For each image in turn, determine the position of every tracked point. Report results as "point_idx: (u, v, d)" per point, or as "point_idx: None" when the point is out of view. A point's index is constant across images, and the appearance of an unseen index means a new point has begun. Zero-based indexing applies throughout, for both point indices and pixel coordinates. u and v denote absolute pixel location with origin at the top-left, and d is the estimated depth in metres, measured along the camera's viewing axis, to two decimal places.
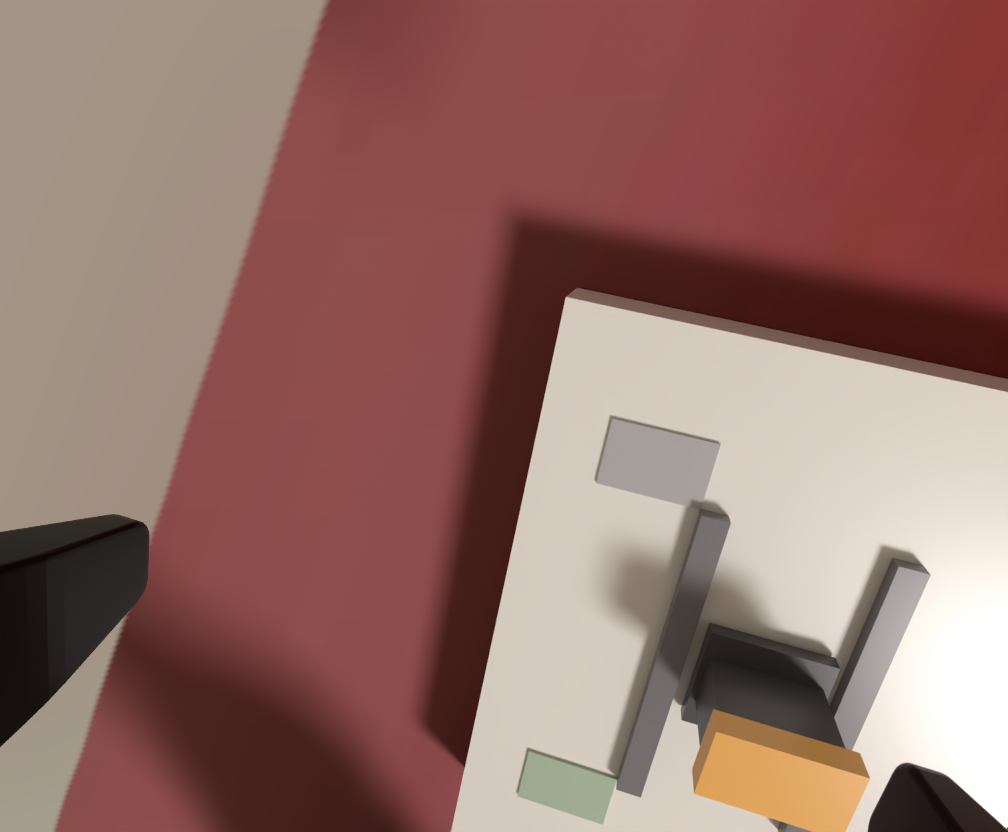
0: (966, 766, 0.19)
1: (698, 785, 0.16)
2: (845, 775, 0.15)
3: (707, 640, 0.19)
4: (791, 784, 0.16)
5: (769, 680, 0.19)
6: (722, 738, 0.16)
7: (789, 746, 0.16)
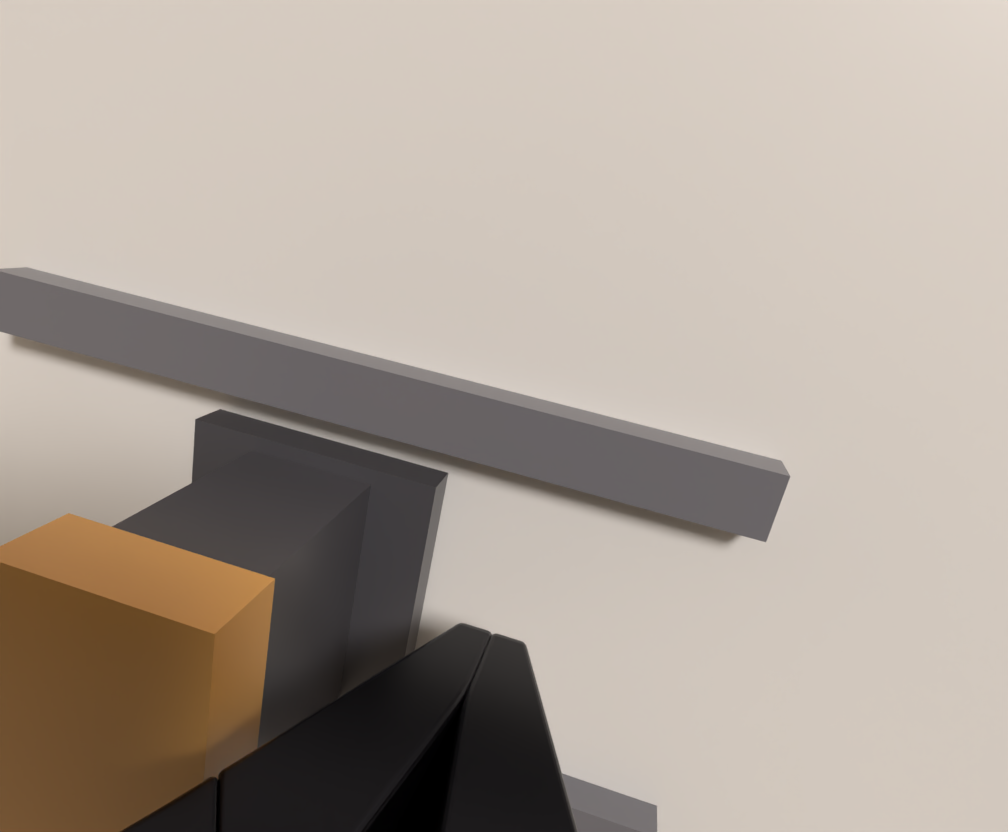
0: (474, 77, 0.07)
1: None
2: None
3: None
4: (75, 748, 0.05)
5: None
6: None
7: None
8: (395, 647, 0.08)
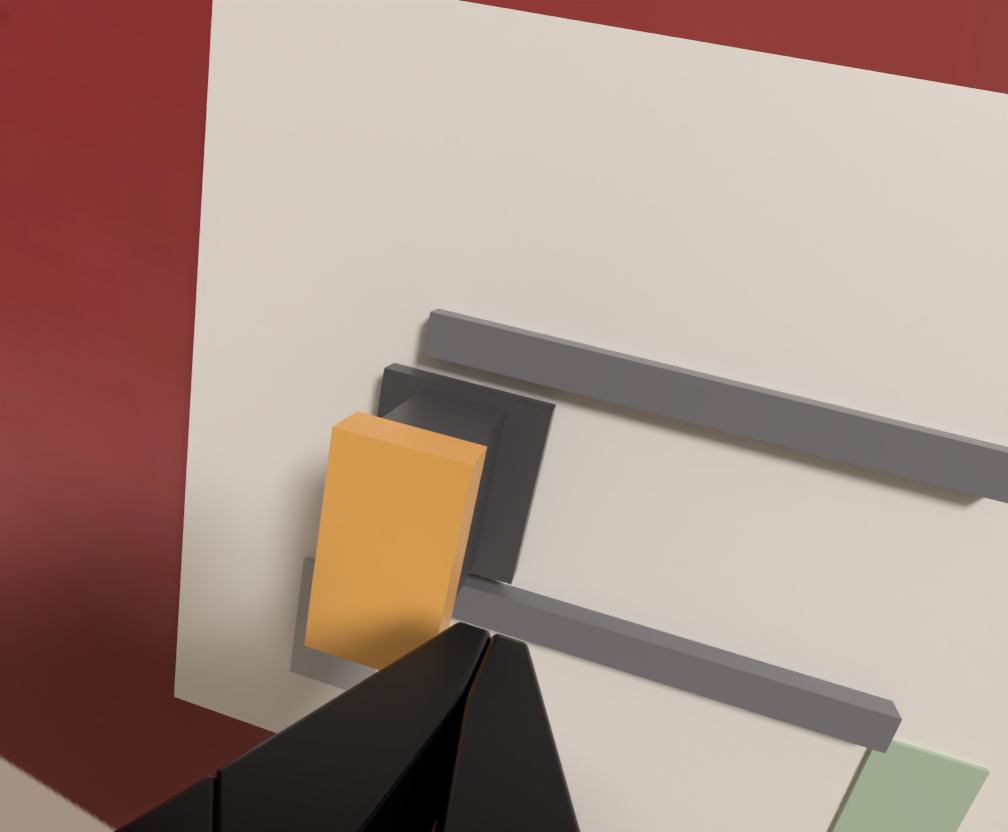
0: (815, 188, 0.10)
1: None
2: (335, 463, 0.09)
3: None
4: (373, 543, 0.09)
5: None
6: (316, 636, 0.10)
7: None
8: (517, 525, 0.12)
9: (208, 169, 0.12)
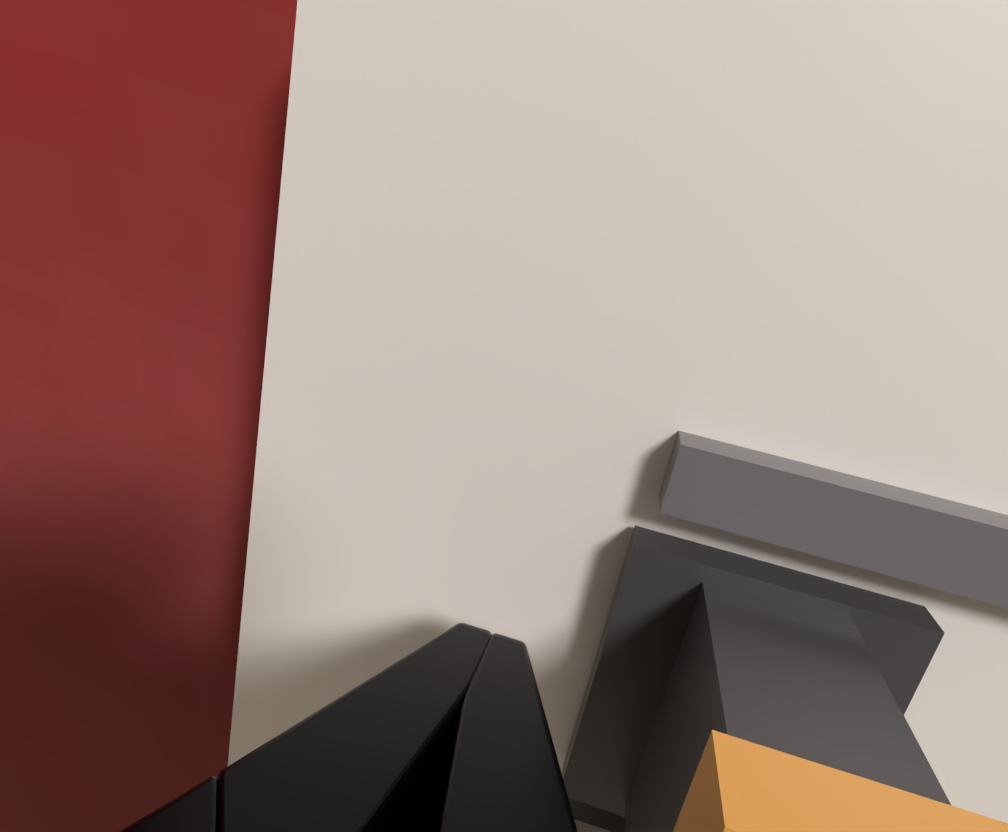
0: None
1: None
2: None
3: (585, 797, 0.08)
4: None
5: (663, 715, 0.07)
6: None
7: None
8: None
9: (288, 195, 0.07)
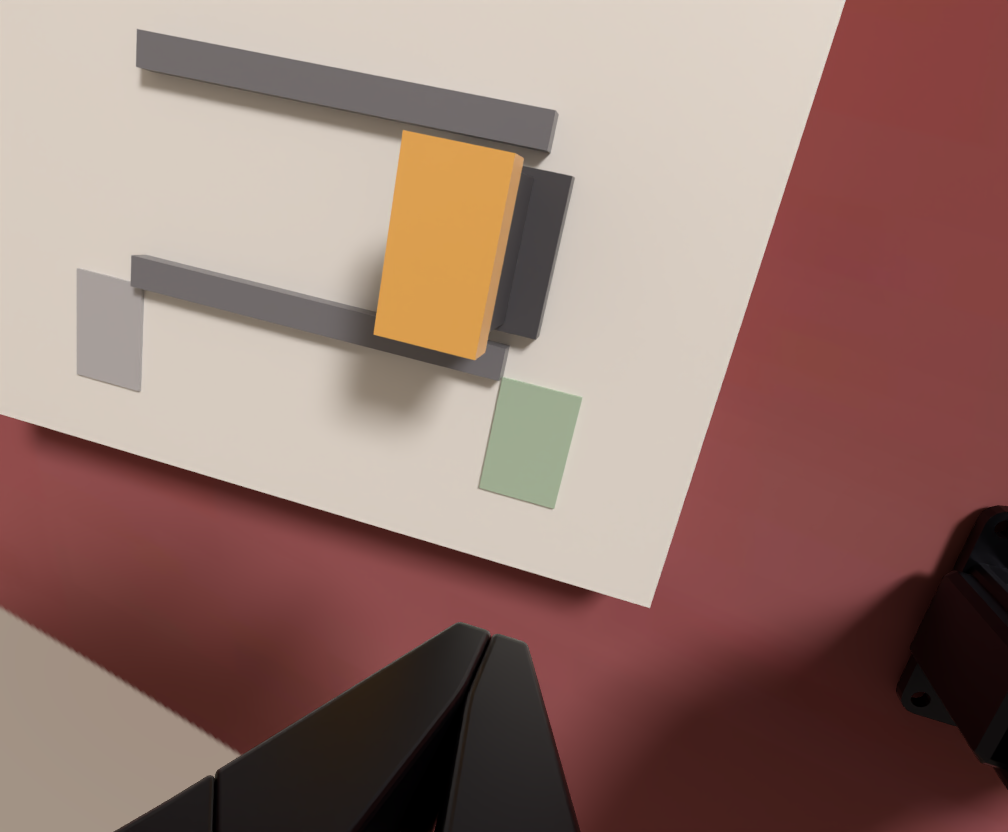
0: None
1: (459, 354, 0.12)
2: (404, 163, 0.11)
3: None
4: (432, 232, 0.11)
5: None
6: (383, 326, 0.12)
7: None
8: (541, 283, 0.15)
9: None
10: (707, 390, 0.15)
